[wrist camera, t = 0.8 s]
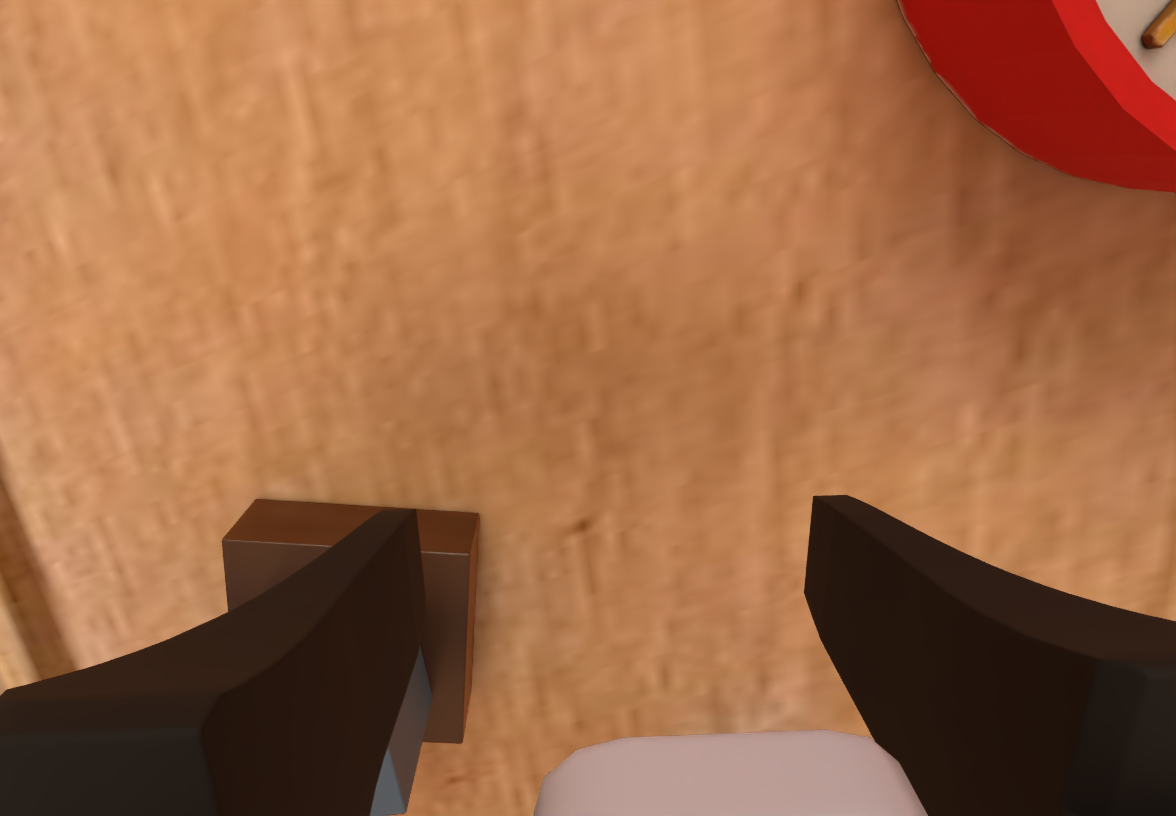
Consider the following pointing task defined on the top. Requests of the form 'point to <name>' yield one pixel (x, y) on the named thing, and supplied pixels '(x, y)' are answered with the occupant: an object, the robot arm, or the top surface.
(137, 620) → the top surface
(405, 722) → the grey cube
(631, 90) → the top surface
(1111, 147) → the toy clock
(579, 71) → the top surface
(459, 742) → the walnut tile
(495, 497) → the top surface
